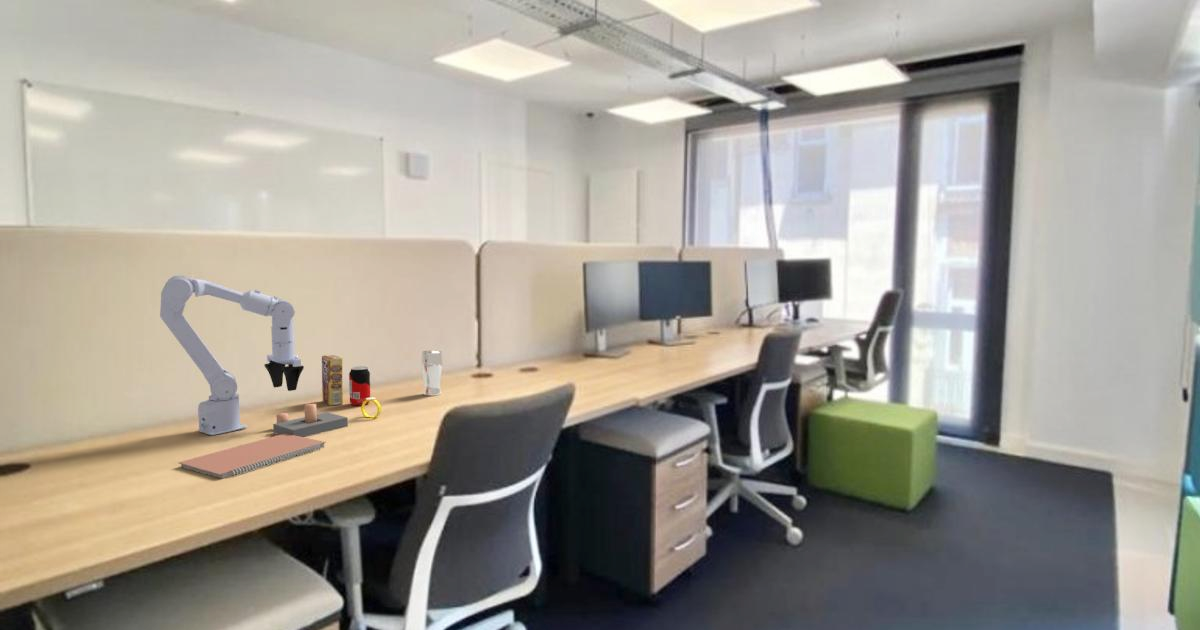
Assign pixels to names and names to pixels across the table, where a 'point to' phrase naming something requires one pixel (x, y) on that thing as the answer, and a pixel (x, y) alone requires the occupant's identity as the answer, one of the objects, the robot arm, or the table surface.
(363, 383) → the beverage can
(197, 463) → the notebook
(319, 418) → the hole board
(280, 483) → the table surface
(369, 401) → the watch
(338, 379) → the candy box
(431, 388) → the beer glass
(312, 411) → the long pin
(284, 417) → the short pin
